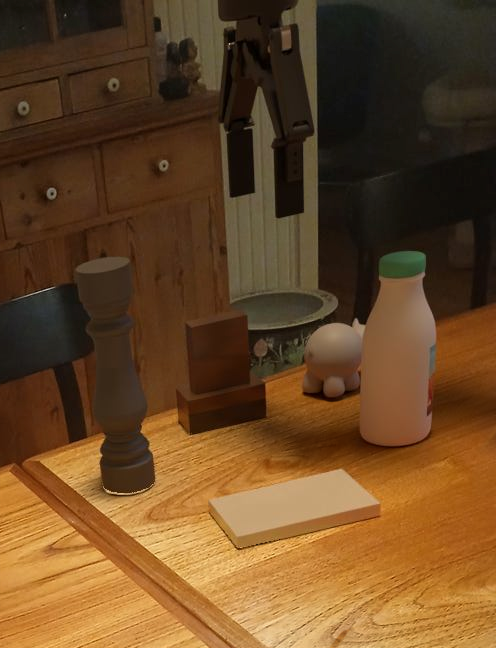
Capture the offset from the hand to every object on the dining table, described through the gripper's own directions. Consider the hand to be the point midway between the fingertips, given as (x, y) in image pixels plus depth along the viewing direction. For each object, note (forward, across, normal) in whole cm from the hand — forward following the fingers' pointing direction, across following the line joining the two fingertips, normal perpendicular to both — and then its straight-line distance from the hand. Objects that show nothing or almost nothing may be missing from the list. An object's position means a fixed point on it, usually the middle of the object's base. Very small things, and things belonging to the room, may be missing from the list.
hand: (264, 204), depth 105 cm
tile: (+26, +19, -6) cm, 33 cm away
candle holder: (+27, +4, -19) cm, 33 cm away
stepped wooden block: (+26, -8, -4) cm, 28 cm away
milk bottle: (+27, +7, +12) cm, 30 cm away
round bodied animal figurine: (+27, -10, +14) cm, 32 cm away
